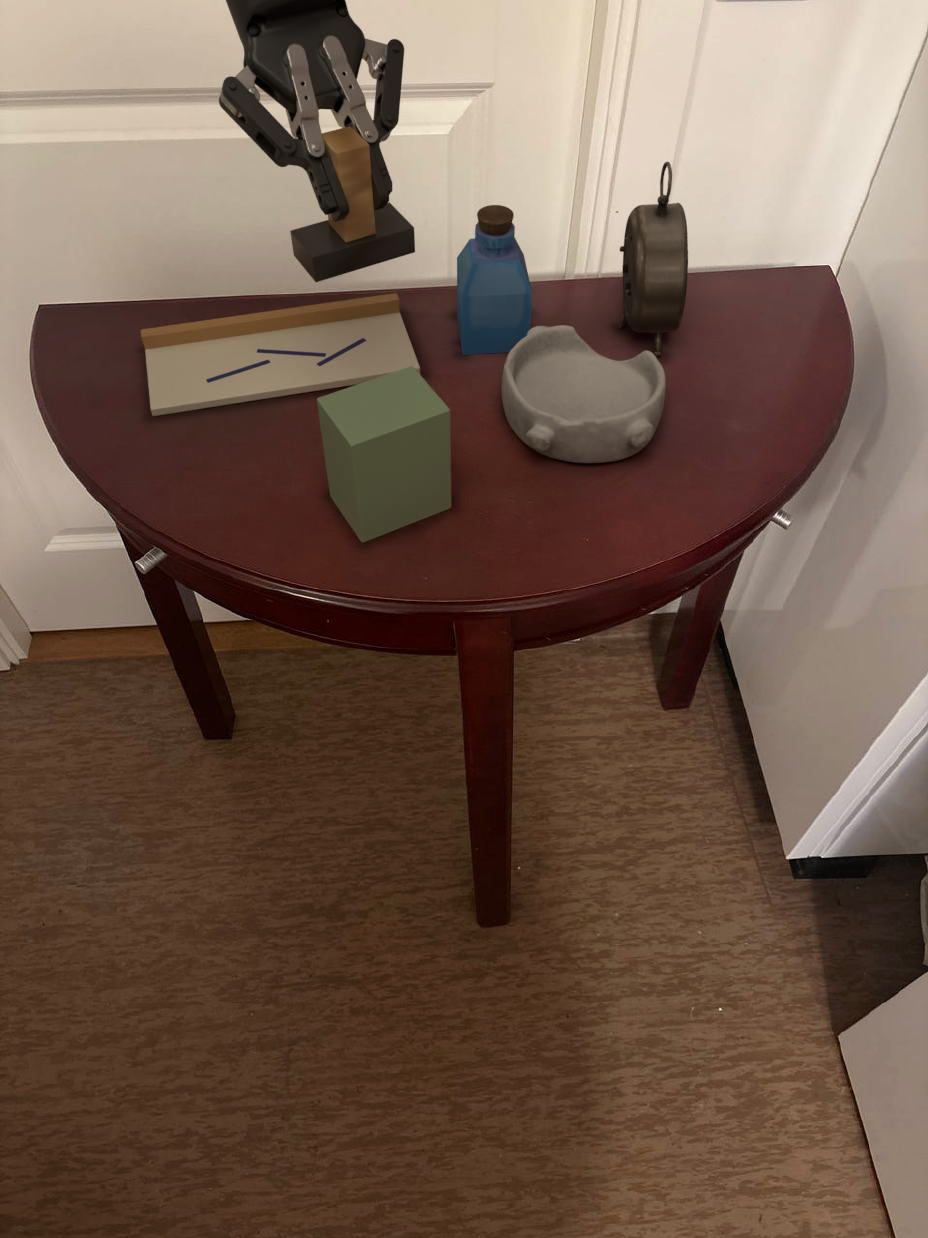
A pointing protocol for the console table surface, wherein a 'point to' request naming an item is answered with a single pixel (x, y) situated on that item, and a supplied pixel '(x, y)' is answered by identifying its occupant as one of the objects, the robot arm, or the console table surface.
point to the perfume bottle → (492, 286)
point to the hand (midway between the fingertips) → (362, 209)
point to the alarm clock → (655, 266)
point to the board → (275, 353)
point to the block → (387, 452)
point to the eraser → (352, 218)
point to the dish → (580, 397)
